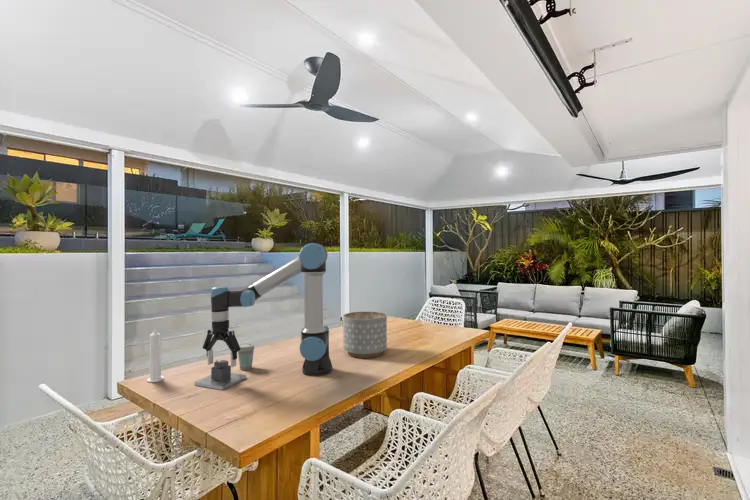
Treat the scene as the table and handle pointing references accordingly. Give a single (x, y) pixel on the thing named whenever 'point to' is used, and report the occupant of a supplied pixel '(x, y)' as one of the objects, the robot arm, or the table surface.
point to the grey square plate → (220, 384)
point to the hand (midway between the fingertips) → (222, 365)
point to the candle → (155, 358)
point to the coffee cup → (246, 356)
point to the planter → (365, 334)
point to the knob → (220, 370)
